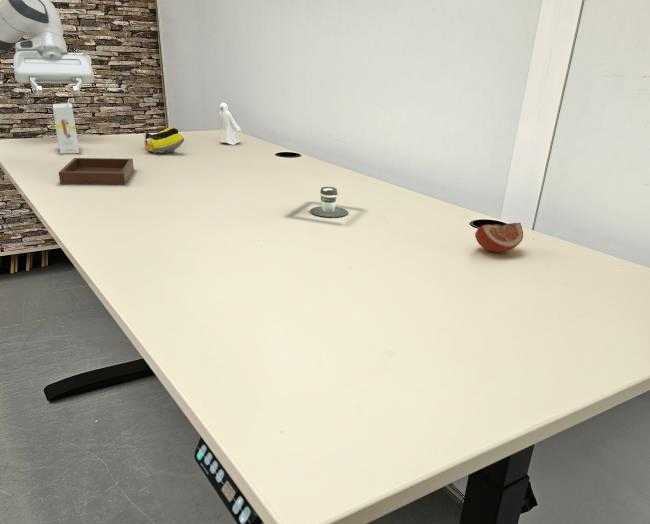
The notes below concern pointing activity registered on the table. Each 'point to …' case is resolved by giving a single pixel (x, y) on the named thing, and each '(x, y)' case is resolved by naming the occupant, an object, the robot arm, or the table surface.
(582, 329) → the table surface
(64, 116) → the ink box
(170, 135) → the yellow rounded piece
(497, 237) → the fruit slice
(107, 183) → the tray
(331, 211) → the coffee cup
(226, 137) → the figurine
